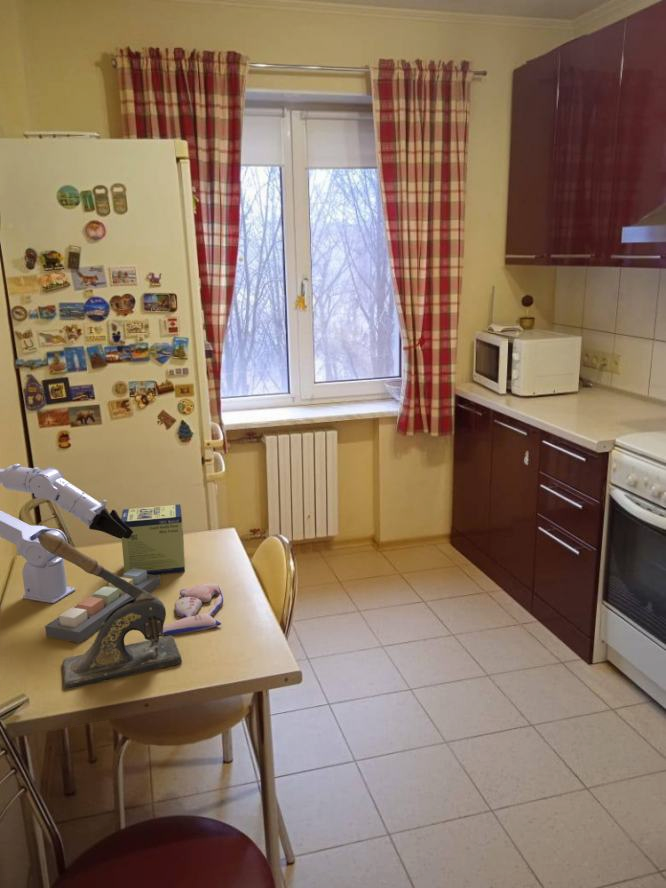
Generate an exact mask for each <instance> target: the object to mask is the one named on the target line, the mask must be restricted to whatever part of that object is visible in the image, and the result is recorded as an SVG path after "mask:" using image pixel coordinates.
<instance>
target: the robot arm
mask: <svg viewBox="0 0 666 888" xmlns="http://www.w3.org/2000/svg"><path fill="white" fill-rule="evenodd" d="M0 484H2V486H3V487H4V488H5V489H6V490H11V491H17V492H23V493H24V492H25V493H30V494H31V493H32V494H34V495H33V496H34V498H36V499H40V500H41V499H45V500H48V501H49V502H52V503H54V504H56V505H57V506H58V507H60V508H61V509H63V510H64V511H66V512H68V513H70V514H71V515H72V516H74V517H76V519H79V520H80V521H81V522H83V523H84V524H86V525H87V526H88V529H90V530H93V531H99V532H102V533H104V534H107V535H110V536H112V537H115V538H117V539H121V540H122V537H123V538H126V539H129V538H130V536H131V535H132V533H133V531H132V530H131V529H130V528H129V527H128V526H127V525H126V524H125V523H124V522H123V521H122V520H121V516H119V513H118V512H117V511H116V510H115V509H112V510H111V512H109V510H108V509H107V508H106V505H107V504H108V500H107V499H103V500H102V501H101V502H100V501H98V500H97V499H96V498H93V497H92V496H91V495H90V494H88V493H86V492H85V491H83V490H81V489H80V488H78V487H77V486H75V485H74V484H73V483H71V482H69V481H67V480H66V479H65V477H64V475H63V473H62V472H61V471H60V470H59V469H58V468H55V467H53V466H49V467H46V468H44V469H43V470H42V469H40V467H37V466H35V467H33V468H32V467H25V466H22V464H21V463H15V464H12V465H9V466H8V467H6V469H5V468H0ZM41 533H50V534H53V535H56V536H58V537H60V538H62V539H63V540H65V541H66V542H67V543H69V542H68V541H69V540H68V537H67V535H66V534H65V533H64V532H63V531H62V530H60V529H58V528H50V527H47V526H45V525H31V524H28V523H26V522H24V521H22V520H20V519H19V518H16V517H14V516H12V515H10V514H9V513H6V512H4V511H2V510H0V538H2V539H4V540H5V541H6V540H7V541H8V542H10V543H12V544H14V545H16V553H17V555H19V556H21V557H23V558H24V559H25V561H26V562H25V563H24V565H23V567H22V572H21V573H22V580H23V588H24V595H22V599H26V600H31V601H35V602H36V601H37V602H43V603H50V604H56V603H57V602H58V601H60V600H62V599H63V598H65V597H66V596H68V595H70V594H71V593H73V592H75V591H76V588H75V587H70V586H68V584H67V575H66V567H65V559H63V558H60V557H58V556H56V555H54V554H52V553H50V552H48V551H47V550H46V549H45V548H44V547H43V546H42V545H41V544H40V542H39V540H38V536H39V535H40V534H41Z"/></svg>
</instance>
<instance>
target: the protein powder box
mask: <svg viewBox="0 0 666 888" xmlns="http://www.w3.org/2000/svg"><path fill="white" fill-rule="evenodd" d="M120 518H121V520H122V521H123V522H124V523H125V524H126V525H127V526H128V527H129V528H130V529H131V530H132V531H133V533H132V535H131V536H130V538H129V539H126V538H123V537H122V539H121V547H122V558H123V570H124V573H126V572H128V571H129V570H131V569H132V568H137V569H144V570H147V574H151V575H158V576H160V575H169V574H170V575H171V574H180V573H185V571H186V566H185V563H186V562H185V561H186V559H185V544H184V543H185V541H184V526H183V525H184V524H183V515H182V508H181V504H171V505H163V506H162V505H159V506H150V507H149V506H148V507H147V506H146V507H138V508H135V507H134V508H124V509H122V511H121V516H120Z"/></svg>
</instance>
